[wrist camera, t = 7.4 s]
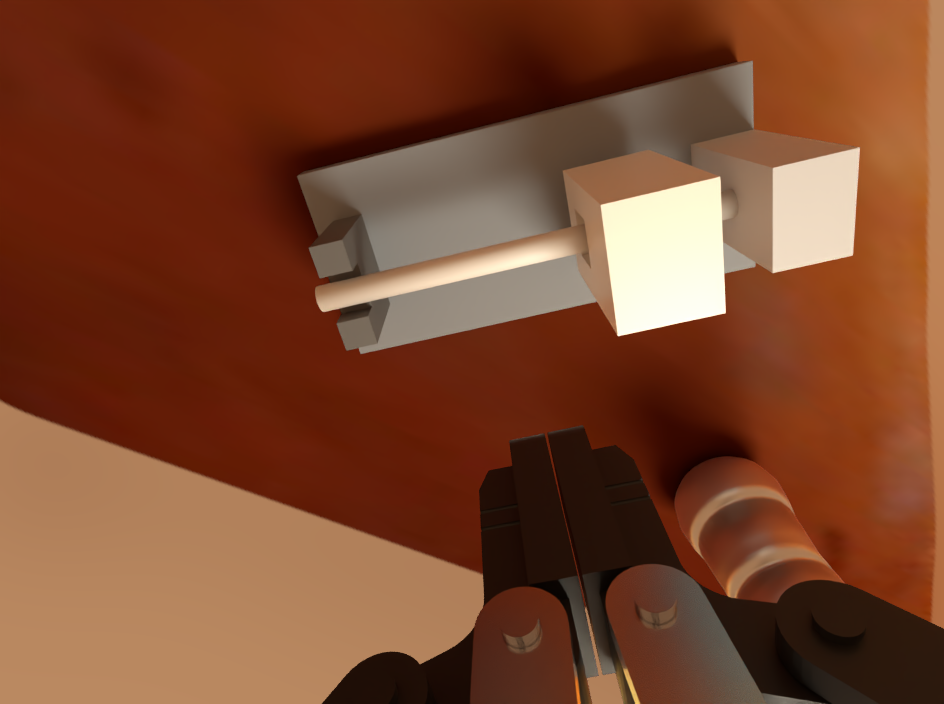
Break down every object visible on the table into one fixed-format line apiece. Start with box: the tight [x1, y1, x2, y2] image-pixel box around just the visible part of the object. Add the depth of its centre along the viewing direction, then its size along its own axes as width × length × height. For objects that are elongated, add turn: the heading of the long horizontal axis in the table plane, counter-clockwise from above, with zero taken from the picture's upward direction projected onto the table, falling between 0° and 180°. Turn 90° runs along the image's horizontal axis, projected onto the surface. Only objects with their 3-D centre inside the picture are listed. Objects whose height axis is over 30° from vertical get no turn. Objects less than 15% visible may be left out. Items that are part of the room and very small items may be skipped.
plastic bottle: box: [674, 456, 845, 603], centre depth 29 cm, size 6×7×20 cm
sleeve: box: [563, 150, 726, 336], centre depth 23 cm, size 5×4×8 cm
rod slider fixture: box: [297, 61, 860, 354], centre depth 26 cm, size 10×22×10 cm, turn 103°
